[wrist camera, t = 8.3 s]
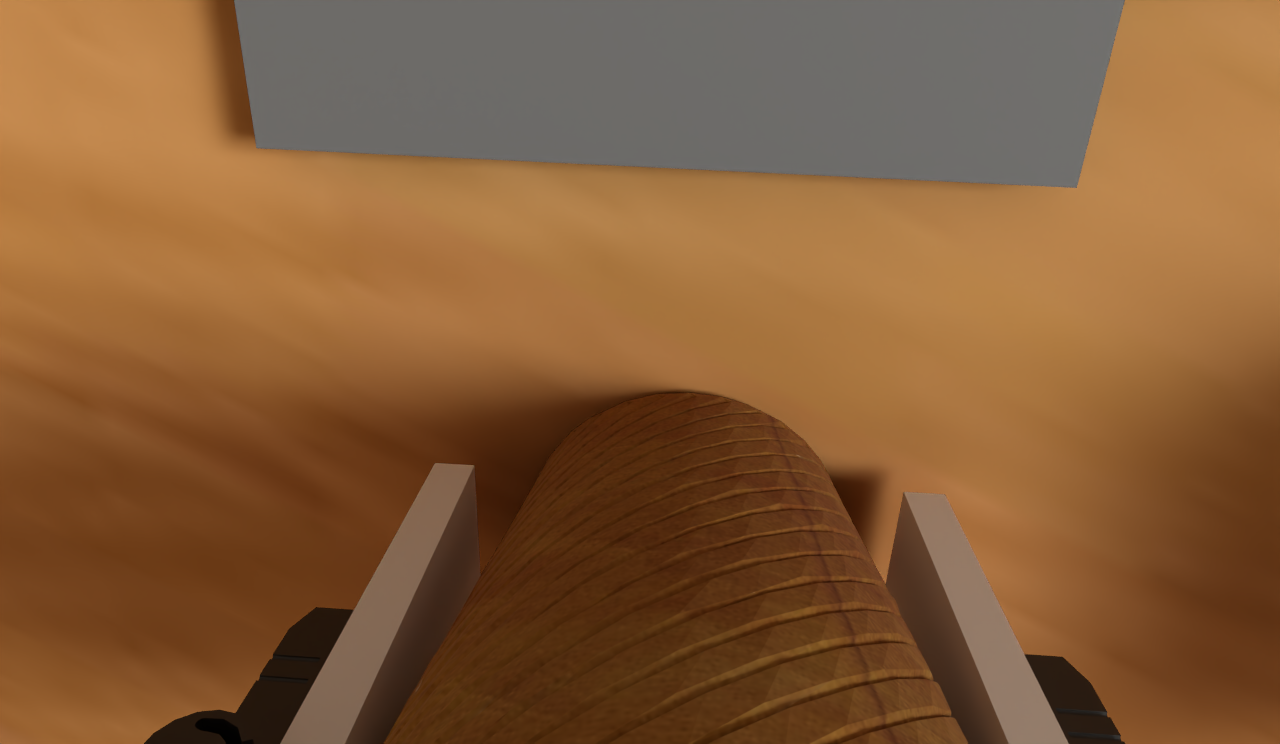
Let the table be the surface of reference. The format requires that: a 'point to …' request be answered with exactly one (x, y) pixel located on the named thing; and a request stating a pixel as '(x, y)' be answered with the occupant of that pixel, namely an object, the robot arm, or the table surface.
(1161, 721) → the table surface
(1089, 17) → the slate mat
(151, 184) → the table surface
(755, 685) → the disposable coffee cup
